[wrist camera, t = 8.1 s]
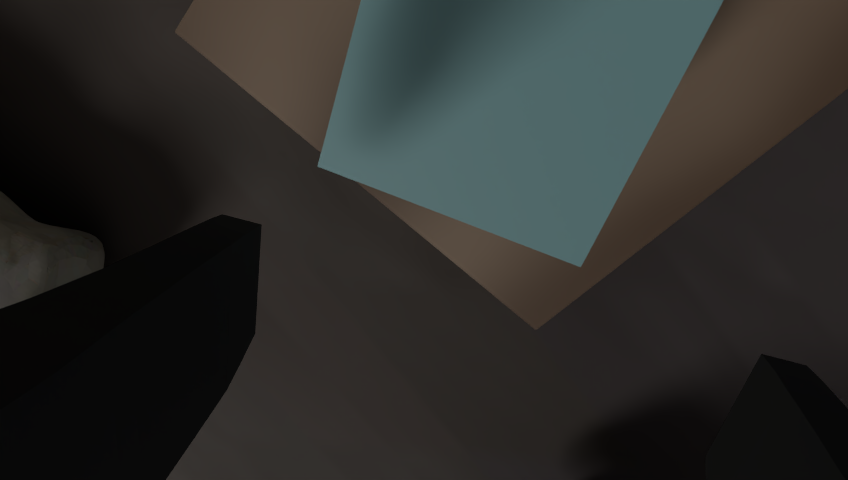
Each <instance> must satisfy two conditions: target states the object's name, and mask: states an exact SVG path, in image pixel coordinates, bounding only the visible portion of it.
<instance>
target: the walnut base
mask: <svg viewBox="0 0 848 480" xmlns="http://www.w3.org/2000/svg"><path fill="white" fill-rule="evenodd" d="M360 2H361V0H194V1H193V2H192V4H191V6H190V7H189V9H188V11H187V12H186V14H185V16H184V17H183V19H182V21H181V22H180V24H179V26H178V27H177V29H176V31H175V33H177V34H178V35H179V36H180V37H181V38H183V39H184V40H185V41H186V42H187V43H189V44H190V45H191V46H192V47H193V48H195V49H196V50H197V51H198V52H200V53H201V54H202V55H203V56H204V57H206V58H207V59H208V60H209V61H210V62H212V63H213V64H214V65H215V66H216V67H218V68H219V69H220V70H221V71H223V72H224V73H225V74H226V75H227V76H229V77H230V78H231V79H232V80H233V81H235V82H236V83H237V84H238V85H239V86H241V87H242V88H243V89H244V90H246V91H247V92H248V93H249V94H250V95H252V96H253V97H254V98H255V99H256V100H258V101H259V102H260V103H261V104H263V105H264V106H265V107H266V108H267V109H269V110H270V111H271V112H272V113H273V114H275V115H276V116H277V117H278V118H279V119H281V120H282V121H283V122H284V123H286V124H287V125H288V126H289V127H290V128H292V129H293V130H294V131H295V132H296V133H298V134H299V135H300V136H301V137H302V138H304V139H305V140H306V141H307V142H309V143H310V144H311V145H312V146H313V147H315V148H316V149H317V150H318V151H319V152H321V151H322V148H323V144H324V140H325V136H326V132H327V128H328V125H329V121H330V117H331V113H332V109H333V105H334V102H335V98H336V94H337V90H338V86H339V82H340V78H341V75H342V71H343V67H344V63H345V59H346V55H347V52H348V48H349V44H350V40H351V36H352V32H353V29H354V25H355V21H356V17H357V13H358V9H359V5H360ZM846 89H848V0H724V1H723V2H722V4H721V6H720V8H719V10H718V12H717V14H716V15H715V17H714V19H713V21H712V23H711V25H710V27H709V29H708V30H707V32H706V34H705V36H704V38H703V40H702V42H701V44H700V45H699V47H698V49H697V51H696V53H695V55H694V57H693V58H692V60H691V62H690V64H689V66H688V68H687V70H686V72H685V73H684V75H683V77H682V79H681V81H680V83H679V85H678V87H677V88H676V90H675V92H674V94H673V96H672V98H671V100H670V101H669V103H668V105H667V107H666V109H665V111H664V113H663V115H662V116H661V118H660V120H659V122H658V124H657V126H656V128H655V129H654V131H653V133H652V135H651V137H650V139H649V141H648V143H647V144H646V146H645V148H644V150H643V152H642V154H641V156H640V158H639V159H638V161H637V163H636V165H635V167H634V169H633V171H632V172H631V174H630V176H629V178H628V180H627V182H626V184H625V186H624V187H623V189H622V191H621V193H620V195H619V197H618V199H617V201H616V202H615V204H614V206H613V208H612V210H611V212H610V214H609V215H608V217H607V219H606V221H605V223H604V225H603V227H602V229H601V230H600V232H599V234H598V236H597V238H596V240H595V242H594V244H593V245H592V247H591V249H590V251H589V253H588V255H587V257H586V258H585V260H584V262H583V264H582V266H581V267H579V266H576V265H573V264H571V263H568V262H566V261H563V260H560V259H558V258H555V257H553V256H550V255H547V254H545V253H542V252H540V251H537V250H534V249H532V248H529V247H527V246H524V245H521V244H519V243H516V242H513V241H511V240H508V239H506V238H503V237H500V236H498V235H495V234H493V233H490V232H487V231H485V230H482V229H480V228H477V227H474V226H472V225H469V224H466V223H464V222H461V221H459V220H456V219H453V218H451V217H448V216H446V215H443V214H440V213H438V212H435V211H433V210H430V209H427V208H425V207H422V206H420V205H417V204H414V203H412V202H409V201H406V200H404V199H401V198H399V197H396V196H393V195H391V194H388V193H386V192H383V191H380V190H378V189H375V188H373V187H370V186H367V185H365V184H362V183H360V182H357V181H356V182H357V183H358V184H359V185H361V186H362V187H363V188H364V189H365V190H367V191H368V192H369V193H370V194H372V195H373V196H374V197H375V198H376V199H378V200H379V201H380V202H381V203H382V204H384V205H385V206H386V207H387V208H388V209H390V210H391V211H392V212H393V213H395V214H396V215H397V216H398V217H399V218H401V219H402V220H403V221H404V222H405V223H407V224H408V225H409V226H410V227H411V228H413V229H414V230H415V231H416V232H418V233H419V234H420V235H421V236H422V237H424V238H425V239H426V240H427V241H428V242H430V243H431V244H432V245H433V246H434V247H436V248H437V249H438V250H439V251H441V252H442V253H443V254H444V255H445V256H447V257H448V258H449V259H450V260H451V261H453V262H454V263H455V264H456V265H457V266H459V267H460V268H461V269H462V270H464V271H465V272H466V273H467V274H468V275H470V276H471V277H472V278H473V279H474V280H476V281H477V282H478V283H479V284H480V285H482V286H483V287H484V288H485V289H487V290H488V291H489V292H490V293H491V294H493V295H494V296H495V297H496V298H497V299H499V300H500V301H501V302H502V303H504V304H505V305H506V306H507V307H508V308H510V309H511V310H512V311H513V312H514V313H516V314H517V315H518V316H519V317H520V318H522V319H523V320H524V321H525V322H527V323H528V324H529V325H530V326H531V327H533V328H534V329H535V330H537V329H538V328H539V327H540V326H542V325H543V324H544V323H546V322H547V321H548V320H550V319H551V318H552V317H553V316H555V315H556V314H557V313H559V312H560V311H561V310H562V309H564V308H565V307H566V306H568V305H569V304H570V303H571V302H573V301H574V300H575V299H577V298H578V297H579V296H581V295H582V294H583V293H584V292H586V291H587V290H588V289H590V288H591V287H592V286H593V285H595V284H596V283H597V282H599V281H600V280H601V279H602V278H604V277H605V276H606V275H608V274H609V273H610V272H611V271H613V270H614V269H615V268H617V267H618V266H619V265H621V264H622V263H623V262H624V261H626V260H627V259H628V258H630V257H631V256H632V255H633V254H635V253H636V252H637V251H639V250H640V249H641V248H642V247H644V246H645V245H646V244H648V243H649V242H650V241H652V240H653V239H654V238H655V237H657V236H658V235H659V234H661V233H662V232H663V231H664V230H666V229H667V228H668V227H670V226H671V225H672V224H673V223H675V222H676V221H677V220H679V219H680V218H681V217H682V216H684V215H685V214H686V213H688V212H689V211H690V210H692V209H693V208H694V207H695V206H697V205H698V204H699V203H701V202H702V201H703V200H704V199H706V198H707V197H708V196H710V195H711V194H712V193H713V192H715V191H716V190H717V189H719V188H720V187H721V186H723V185H724V184H725V183H726V182H728V181H729V180H730V179H732V178H733V177H734V176H735V175H737V174H738V173H739V172H741V171H742V170H743V169H744V168H746V167H747V166H748V165H750V164H751V163H752V162H754V161H755V160H756V159H757V158H759V157H760V156H761V155H763V154H764V153H765V152H766V151H768V150H769V149H770V148H772V147H773V146H774V145H775V144H777V143H778V142H779V141H781V140H782V139H783V138H784V137H786V136H787V135H788V134H790V133H791V132H792V131H794V130H795V129H796V128H797V127H799V126H800V125H801V124H803V123H804V122H805V121H806V120H808V119H809V118H810V117H812V116H813V115H814V114H815V113H817V112H818V111H819V110H821V109H822V108H823V107H825V106H826V105H827V104H828V103H830V102H831V101H832V100H834V99H835V98H836V97H837V96H839V95H840V94H841V93H843V92H844V91H845V90H846Z"/></svg>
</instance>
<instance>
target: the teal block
mask: <svg viewBox="0 0 848 480" xmlns="http://www.w3.org/2000/svg"><path fill="white" fill-rule="evenodd" d="M723 1H724V0H361V2H360V5H359V9H358V13H357V17H356V21H355V25H354V29H353V32H352V36H351V40H350V44H349V48H348V52H347V55H346V59H345V63H344V67H343V71H342V75H341V78H340V82H339V86H338V90H337V94H336V98H335V102H334V105H333V109H332V113H331V117H330V121H329V125H328V128H327V132H326V136H325V140H324V144H323V148H322V151H321V155H320V159H319V163H318V167H320V168H323V169H326V170H328V171H331V172H333V173H336V174H339V175H341V176H344V177H346V178H349V179H352V180H354V181H357V182H360V183H362V184H365V185H367V186H370V187H373V188H375V189H378V190H380V191H383V192H386V193H388V194H391V195H393V196H396V197H399V198H401V199H404V200H406V201H409V202H412V203H414V204H417V205H420V206H422V207H425V208H427V209H430V210H433V211H435V212H438V213H440V214H443V215H446V216H448V217H451V218H453V219H456V220H459V221H461V222H464V223H466V224H469V225H472V226H474V227H477V228H480V229H482V230H485V231H487V232H490V233H493V234H495V235H498V236H500V237H503V238H506V239H508V240H511V241H513V242H516V243H519V244H521V245H524V246H527V247H529V248H532V249H534V250H537V251H540V252H542V253H545V254H547V255H550V256H553V257H555V258H558V259H560V260H563V261H566V262H568V263H571V264H573V265H576V266H579V267H581V266H582V264H583V262H584V260H585V258H586V257H587V255H588V253H589V251H590V249H591V247H592V245H593V244H594V242H595V240H596V238H597V236H598V234H599V232H600V230H601V229H602V227H603V225H604V223H605V221H606V219H607V217H608V215H609V214H610V212H611V210H612V208H613V206H614V204H615V202H616V201H617V199H618V197H619V195H620V193H621V191H622V189H623V187H624V186H625V184H626V182H627V180H628V178H629V176H630V174H631V172H632V171H633V169H634V167H635V165H636V163H637V161H638V159H639V158H640V156H641V154H642V152H643V150H644V148H645V146H646V144H647V143H648V141H649V139H650V137H651V135H652V133H653V131H654V129H655V128H656V126H657V124H658V122H659V120H660V118H661V116H662V115H663V113H664V111H665V109H666V107H667V105H668V103H669V101H670V100H671V98H672V96H673V94H674V92H675V90H676V88H677V87H678V85H679V83H680V81H681V79H682V77H683V75H684V73H685V72H686V70H687V68H688V66H689V64H690V62H691V60H692V58H693V57H694V55H695V53H696V51H697V49H698V47H699V45H700V44H701V42H702V40H703V38H704V36H705V34H706V32H707V30H708V29H709V27H710V25H711V23H712V21H713V19H714V17H715V15H716V14H717V12H718V10H719V8H720V6H721V4H722V2H723Z"/></svg>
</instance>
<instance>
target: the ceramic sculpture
mask: <svg viewBox="0 0 848 480" xmlns="http://www.w3.org/2000/svg"><path fill="white" fill-rule="evenodd" d="M104 259H105V253H104V249H103V245H102V243H101V242H100V240H99V239H97V238H96V237H95V236H93V235H91V234H89V233H86V232H83V231H79V230H74V229H68V228H62V227H56V226H51V225H47V224H43V223H39V222H37V221H35V220H34V219H32V218H31V217H29V216H28V215H27V214H26V213H25V212H24V211H22V210H21V209H20V208H19V207H18V206H17V205H16V204H15V203H14V202H13V201H12V200H11V199H10V198H8V197H7V196H6V195H5V194H4V193H2V192H1V191H0V309H1V308H4V307H6V306H9V305H12V304H15V303H18V302H20V301H23V300H26V299H29V298H31V297H34V296H36V295H39V294H41V293H44V292H46V291H49V290H51V289H53V288H56V287H58V286H61V285H63V284H66V283H68V282H71V281H73V280H76V279H78V278H81V277H83V276H85V275H88V274H90V273H93V272H95V271H98V270H100V269H103V268H104Z"/></svg>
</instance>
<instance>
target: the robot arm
mask: <svg viewBox="0 0 848 480" xmlns="http://www.w3.org/2000/svg"><path fill="white" fill-rule="evenodd" d="M260 241H261V224H257V223H253V222H250V221H246V220H242V219H238V218H234V217H230V216H226V215H223V214H222V215H219V216H217V217H214V218H212V219H209V220H207V221H205V222H202V223H200V224H198V225H196V226H194V227H191V228H189V229H187V230H185V231H183V232H181V233H179V234H176V235H174V236H172V237H170V238H168V239H166V240H164V241H162V242H159V243H157V244H155V245H153V246H151V247H149V248H147V249H144V250H142V251H140V252H138V253H136V254H133V255H131V256H129V257H127V258H125V259H122V260H120V261H118V262H116V263H114V264H111V265H109V266H107V267H105V268H103V269H100V270H98V271H95V272H93V273H90V274H88V275H85V276H83V277H81V278H78V279H76V280H73V281H71V282H68V283H66V284H63V285H61V286H58V287H56V288H53V289H51V290H49V291H46V292H44V293H41V294H39V295H36V296H34V297H31V298H29V299H26V300H23V301H20V302H18V303H15V304H12V305H9V306H6V307H4V308H1V309H0V480H166V478H167V477H168V476H169V474H170V473H171V471H172V470H173V468H174V467H175V465H176V464H177V462H178V461H179V460H180V458H181V457H182V455H183V454H184V452H185V451H186V449H187V448H188V446H189V445H190V444H191V442H192V441H193V439H194V438H195V436H196V435H197V433H198V432H199V430H200V429H201V427H202V426H203V424H204V423H205V421H206V420H207V419H208V417H209V416H210V414H211V413H212V411H213V410H214V408H215V407H216V405H217V404H218V402H219V401H220V399H221V398H222V396H223V395H224V393H225V392H226V390H227V388H228V386H229V384H230V383H231V381H232V379H233V377H234V375H235V373H236V371H237V369H238V367H239V365H240V363H241V361H242V359H243V357H244V355H245V353H246V351H247V349H248V347H249V345H250V343H251V341H252V339H253V337H254V335H255V326H256V309H257V292H258V275H259V258H260ZM705 457H706V480H848V409H847V408H846V407H845V405H844V404H843V403H842V402H841V401H840V400H839V399H838V398H837V397H836V395H835V394H834V393H833V392H832V391H831V390H830V389H829V388H828V387H827V386H826V385H825V384H824V382H823V381H822V380H821V379H820V378H819V377H818V376H817V375H816V374H815V373H814V372H813V371H812V370H811V369H810V368H809V367H807V366H806V365H802V364H798V363H794V362H790V361H786V360H783V359H779V358H775V357H771V356H767V355H763V354H761V356H760V358H759V359H758V361H757V363H756V365H755V367H754V369H753V370H752V372H751V374H750V376H749V378H748V379H747V381H746V383H745V385H744V387H743V389H742V390H741V392H740V394H739V396H738V398H737V399H736V401H735V403H734V405H733V407H732V409H731V410H730V412H729V414H728V416H727V418H726V420H725V421H724V423H723V425H722V427H721V429H720V430H719V432H718V434H717V436H716V438H715V440H714V441H713V443H712V445H711V447H710V449H709V451H708V452H707V454H706V456H705Z"/></svg>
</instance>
